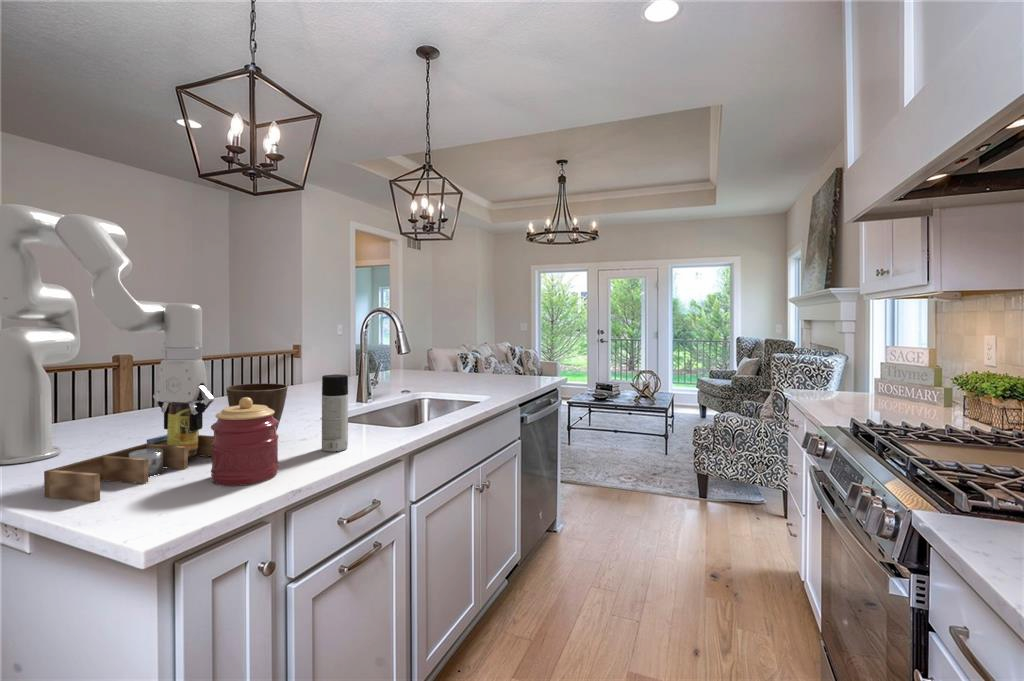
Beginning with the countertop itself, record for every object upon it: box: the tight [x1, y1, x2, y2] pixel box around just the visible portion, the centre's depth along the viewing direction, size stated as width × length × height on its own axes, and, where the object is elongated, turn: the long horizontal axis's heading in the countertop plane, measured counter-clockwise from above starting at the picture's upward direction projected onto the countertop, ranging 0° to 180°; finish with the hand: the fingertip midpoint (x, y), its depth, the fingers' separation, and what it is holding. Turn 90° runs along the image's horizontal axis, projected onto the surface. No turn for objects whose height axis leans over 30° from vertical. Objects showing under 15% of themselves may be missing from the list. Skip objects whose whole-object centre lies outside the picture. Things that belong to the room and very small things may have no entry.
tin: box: [129, 448, 164, 478], centre depth 104 cm, size 6×6×5 cm
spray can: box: [321, 373, 349, 453], centre depth 127 cm, size 7×7×20 cm
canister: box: [210, 397, 280, 487], centre depth 104 cm, size 13×13×18 cm
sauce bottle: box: [166, 402, 200, 458], centre depth 114 cm, size 6×6×20 cm
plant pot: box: [225, 382, 288, 432], centre depth 131 cm, size 15×15×16 cm
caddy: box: [43, 434, 214, 503], centre depth 105 cm, size 11×31×6 cm, turn 171°
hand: (183, 428), depth 114 cm, fingers closed on sauce bottle, 6 cm apart
